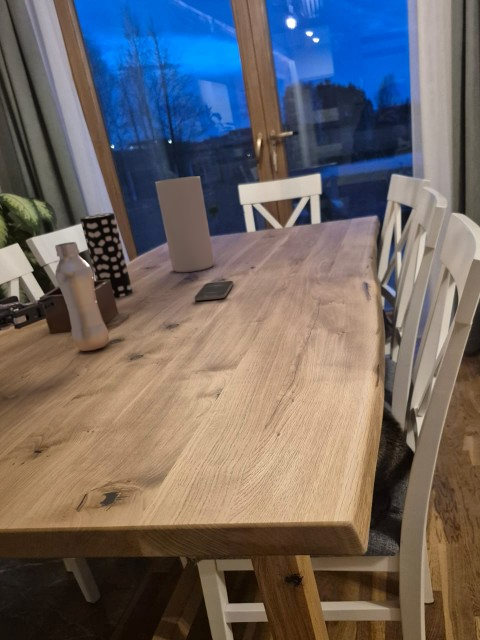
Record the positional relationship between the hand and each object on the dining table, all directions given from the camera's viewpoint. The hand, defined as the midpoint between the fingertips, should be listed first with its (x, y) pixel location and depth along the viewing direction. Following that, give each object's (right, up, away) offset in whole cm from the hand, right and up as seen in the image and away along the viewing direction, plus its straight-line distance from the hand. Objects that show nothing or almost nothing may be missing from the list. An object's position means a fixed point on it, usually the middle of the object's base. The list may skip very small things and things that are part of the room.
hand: (35, 301), depth 99 cm
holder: (-3, 0, +31) cm, 31 cm away
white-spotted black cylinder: (-3, +11, +54) cm, 55 cm away
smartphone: (+24, +10, +44) cm, 51 cm away
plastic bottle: (+5, -7, +14) cm, 16 cm away
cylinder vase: (+13, +22, +74) cm, 79 cm away
